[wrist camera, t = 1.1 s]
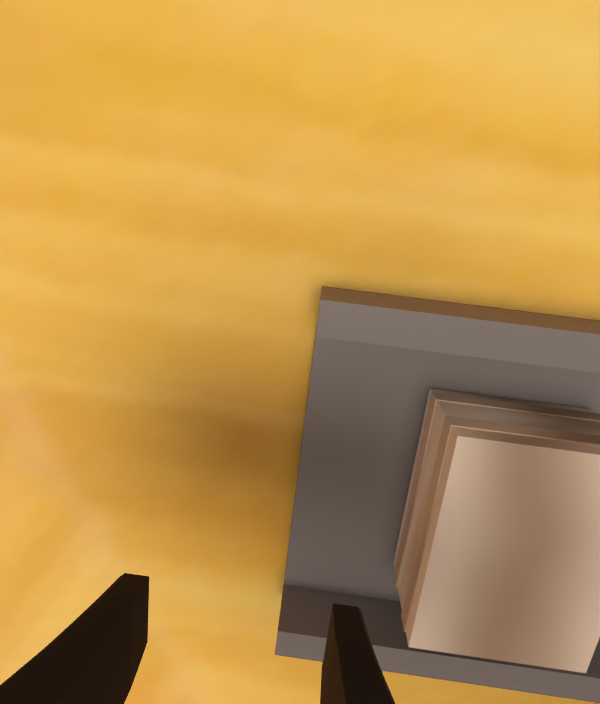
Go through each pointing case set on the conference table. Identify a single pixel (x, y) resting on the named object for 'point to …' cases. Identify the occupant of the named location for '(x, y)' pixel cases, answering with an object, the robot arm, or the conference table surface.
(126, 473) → the conference table surface
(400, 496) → the bay
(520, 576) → the tan layered slab
